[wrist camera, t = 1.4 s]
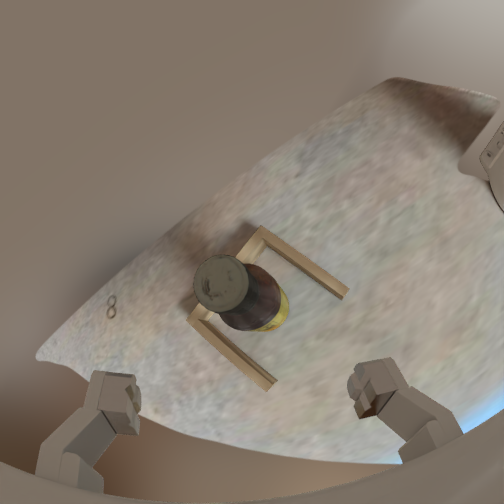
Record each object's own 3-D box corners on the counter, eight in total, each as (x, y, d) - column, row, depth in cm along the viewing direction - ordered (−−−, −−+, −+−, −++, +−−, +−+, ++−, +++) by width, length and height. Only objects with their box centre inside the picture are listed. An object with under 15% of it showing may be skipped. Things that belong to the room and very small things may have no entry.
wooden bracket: (271, 387, 35) (266, 392, 32) (196, 321, 40) (185, 320, 37) (347, 292, 36) (349, 288, 33) (266, 234, 41) (260, 225, 38)
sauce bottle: (238, 323, 39) (159, 309, 20) (252, 279, 40) (187, 228, 21) (284, 338, 37) (242, 341, 18) (299, 292, 38) (272, 250, 19)
